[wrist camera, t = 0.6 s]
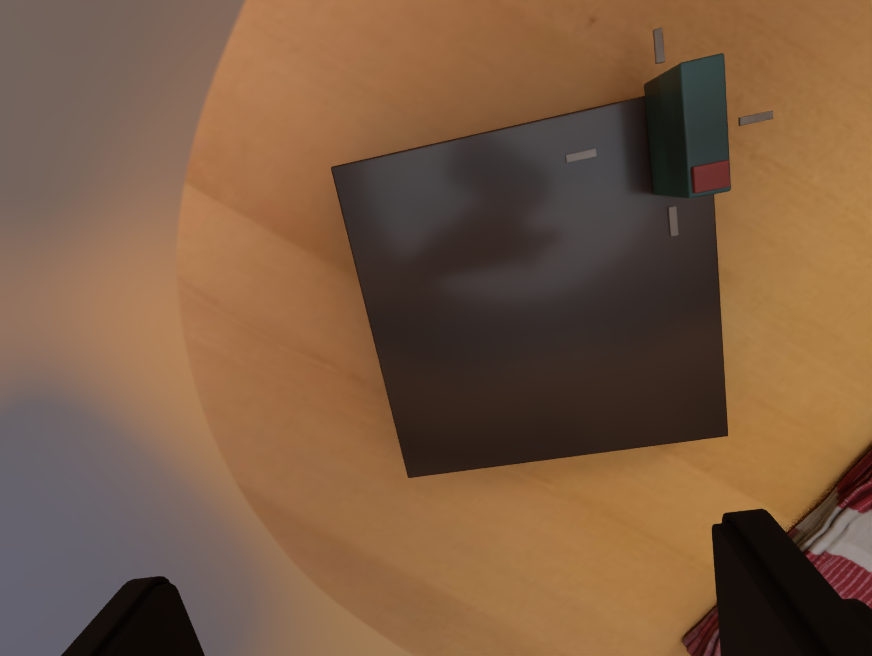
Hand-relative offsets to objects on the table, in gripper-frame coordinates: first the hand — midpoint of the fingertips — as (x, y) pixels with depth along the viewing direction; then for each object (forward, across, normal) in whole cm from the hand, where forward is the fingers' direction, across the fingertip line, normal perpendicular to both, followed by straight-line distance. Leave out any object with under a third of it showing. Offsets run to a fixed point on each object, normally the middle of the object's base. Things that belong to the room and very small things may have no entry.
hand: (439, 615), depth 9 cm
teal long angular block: (+19, -11, -7) cm, 23 cm away
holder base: (+22, -5, -1) cm, 23 cm away
